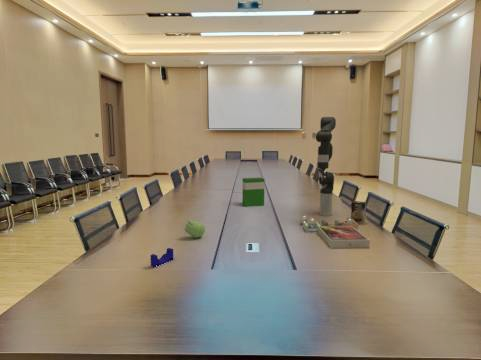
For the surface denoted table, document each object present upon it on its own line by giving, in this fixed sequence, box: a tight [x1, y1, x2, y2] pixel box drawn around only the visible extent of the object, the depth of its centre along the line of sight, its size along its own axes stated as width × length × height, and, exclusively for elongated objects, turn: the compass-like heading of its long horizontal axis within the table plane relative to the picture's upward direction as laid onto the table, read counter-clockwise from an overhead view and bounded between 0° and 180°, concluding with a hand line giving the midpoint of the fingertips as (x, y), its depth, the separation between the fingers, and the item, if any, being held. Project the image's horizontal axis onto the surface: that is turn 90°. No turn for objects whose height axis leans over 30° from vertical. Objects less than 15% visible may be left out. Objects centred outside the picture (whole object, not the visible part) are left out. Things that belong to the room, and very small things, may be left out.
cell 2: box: [307, 216, 316, 229], centre depth 219 cm, size 5×5×7 cm
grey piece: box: [302, 219, 362, 233], centre depth 219 cm, size 11×36×6 cm, turn 89°
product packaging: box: [316, 225, 371, 249], centre depth 199 cm, size 22×28×5 cm
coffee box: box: [350, 200, 367, 225], centre depth 231 cm, size 9×6×16 cm
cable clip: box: [150, 247, 174, 268], centre depth 163 cm, size 12×4×6 cm, turn 146°
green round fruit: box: [183, 220, 206, 239], centre depth 202 cm, size 12×11×11 cm
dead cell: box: [345, 217, 354, 224], centre depth 219 cm, size 5×5×7 cm
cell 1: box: [299, 214, 308, 226], centre depth 232 cm, size 5×5×7 cm
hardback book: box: [242, 177, 265, 208], centre depth 291 cm, size 18×7×24 cm, turn 107°
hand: (322, 184), depth 229 cm, fingers open, 8 cm apart
